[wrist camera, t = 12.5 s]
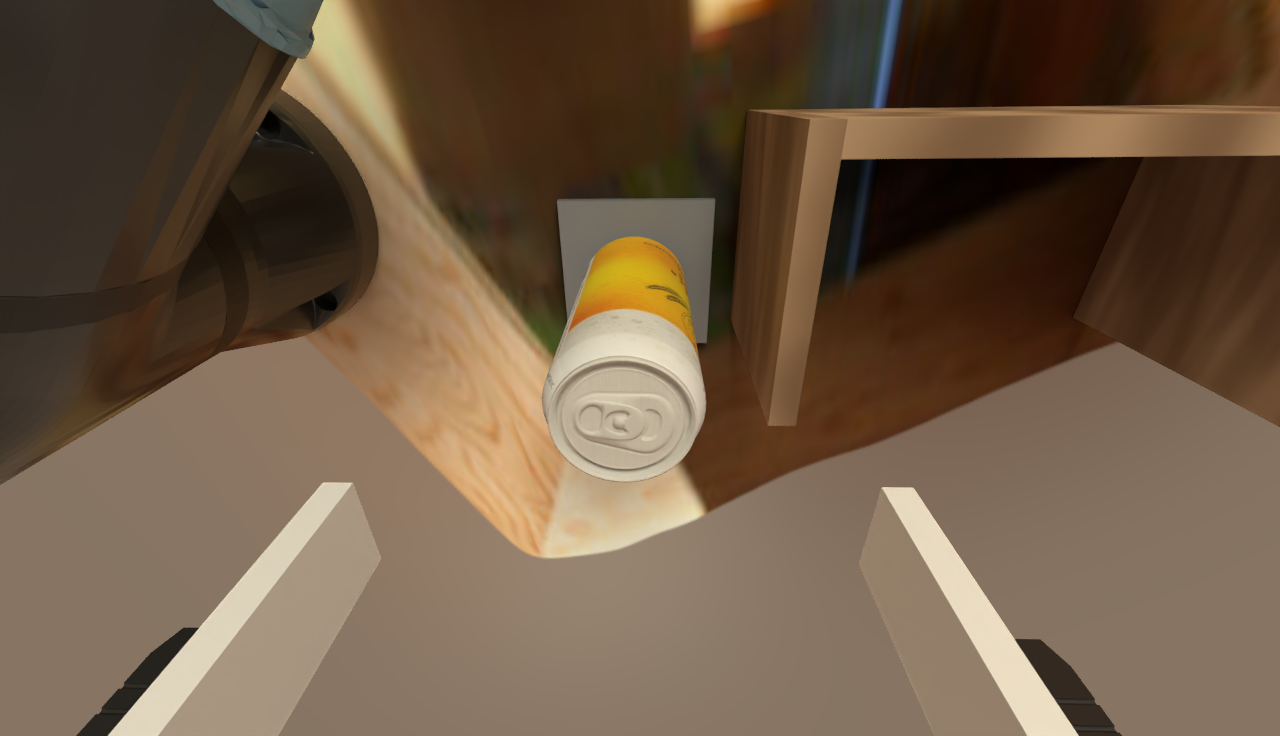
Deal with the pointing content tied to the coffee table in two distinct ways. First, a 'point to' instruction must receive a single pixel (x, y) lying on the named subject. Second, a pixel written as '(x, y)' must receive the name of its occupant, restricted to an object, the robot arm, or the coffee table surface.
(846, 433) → the coffee table surface
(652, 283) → the beer can
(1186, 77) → the coffee table surface
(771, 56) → the coffee table surface
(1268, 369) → the wooden monitor riser
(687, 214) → the slate coaster
